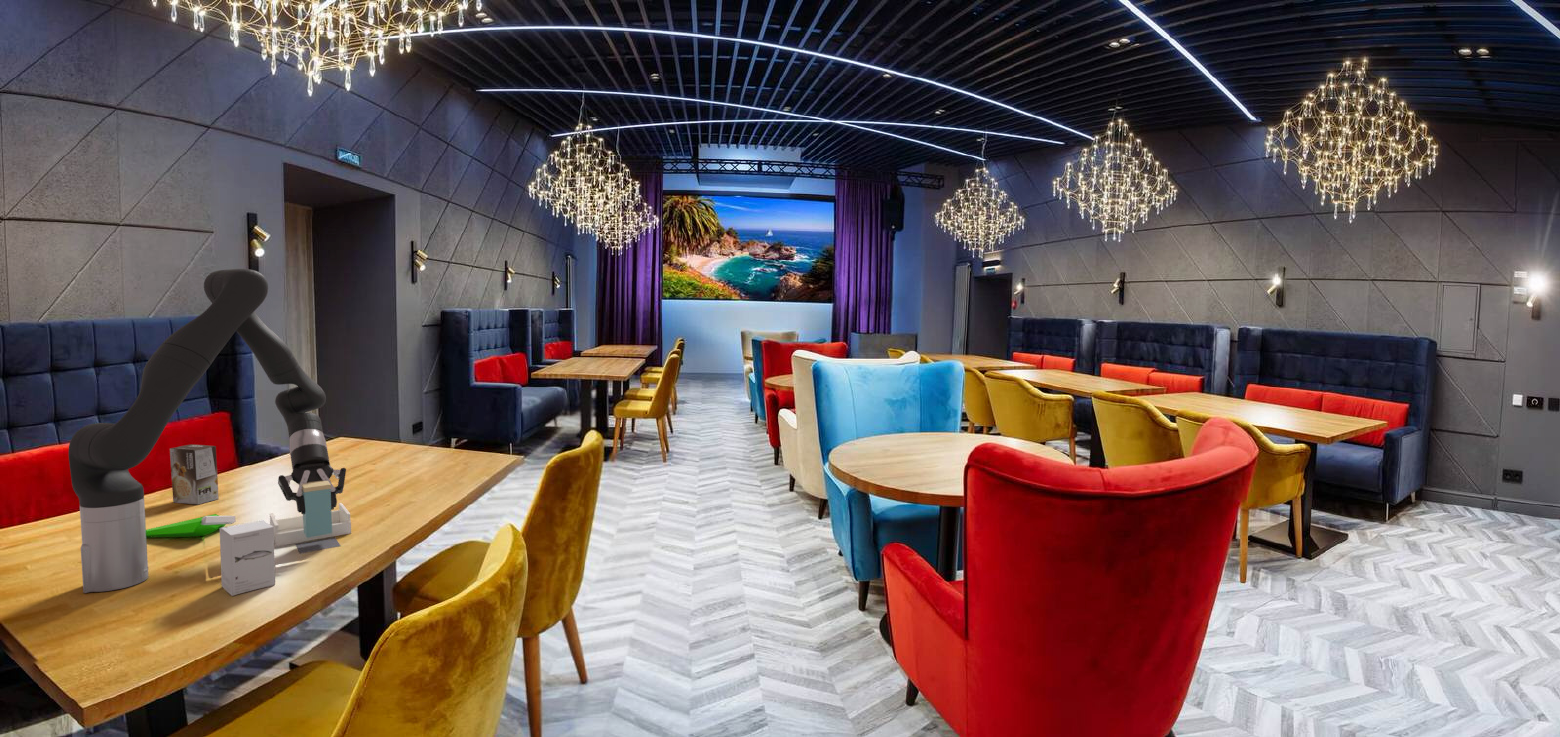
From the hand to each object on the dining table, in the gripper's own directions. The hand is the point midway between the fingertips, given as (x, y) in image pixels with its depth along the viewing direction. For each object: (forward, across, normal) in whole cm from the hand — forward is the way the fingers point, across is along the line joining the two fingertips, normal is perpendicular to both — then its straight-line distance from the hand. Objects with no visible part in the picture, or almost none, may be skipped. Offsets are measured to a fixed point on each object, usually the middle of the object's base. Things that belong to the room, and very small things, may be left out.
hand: (318, 509), depth 155 cm
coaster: (+6, 0, +8) cm, 10 cm away
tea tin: (+3, 0, +6) cm, 6 cm away
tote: (-2, 0, +16) cm, 16 cm away
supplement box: (+18, -14, -4) cm, 23 cm away
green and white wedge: (-15, -26, +29) cm, 42 cm away
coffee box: (-40, -21, +55) cm, 71 cm away
